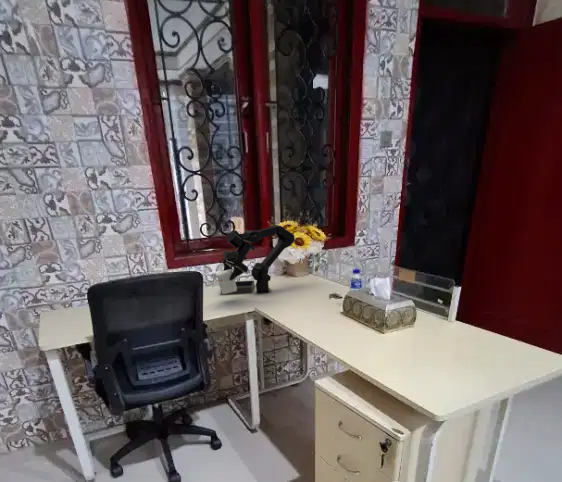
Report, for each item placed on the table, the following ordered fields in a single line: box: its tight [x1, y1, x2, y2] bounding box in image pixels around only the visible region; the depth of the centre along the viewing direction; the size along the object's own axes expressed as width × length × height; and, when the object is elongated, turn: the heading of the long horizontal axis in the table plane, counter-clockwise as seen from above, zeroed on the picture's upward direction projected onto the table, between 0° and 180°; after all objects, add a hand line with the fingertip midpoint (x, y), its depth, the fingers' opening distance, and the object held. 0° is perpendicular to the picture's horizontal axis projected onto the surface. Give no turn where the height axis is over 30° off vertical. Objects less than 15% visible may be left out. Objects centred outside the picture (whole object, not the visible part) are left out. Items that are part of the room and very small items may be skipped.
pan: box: [220, 279, 256, 295], centre depth 236 cm, size 17×13×3 cm
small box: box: [216, 269, 237, 295], centre depth 216 cm, size 8×6×10 cm
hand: (226, 278), depth 214 cm, fingers closed on small box, 7 cm apart
